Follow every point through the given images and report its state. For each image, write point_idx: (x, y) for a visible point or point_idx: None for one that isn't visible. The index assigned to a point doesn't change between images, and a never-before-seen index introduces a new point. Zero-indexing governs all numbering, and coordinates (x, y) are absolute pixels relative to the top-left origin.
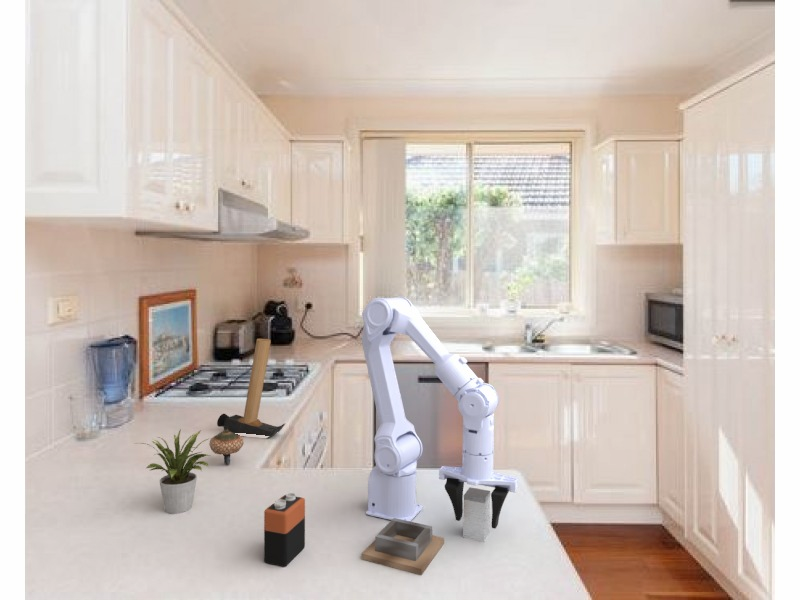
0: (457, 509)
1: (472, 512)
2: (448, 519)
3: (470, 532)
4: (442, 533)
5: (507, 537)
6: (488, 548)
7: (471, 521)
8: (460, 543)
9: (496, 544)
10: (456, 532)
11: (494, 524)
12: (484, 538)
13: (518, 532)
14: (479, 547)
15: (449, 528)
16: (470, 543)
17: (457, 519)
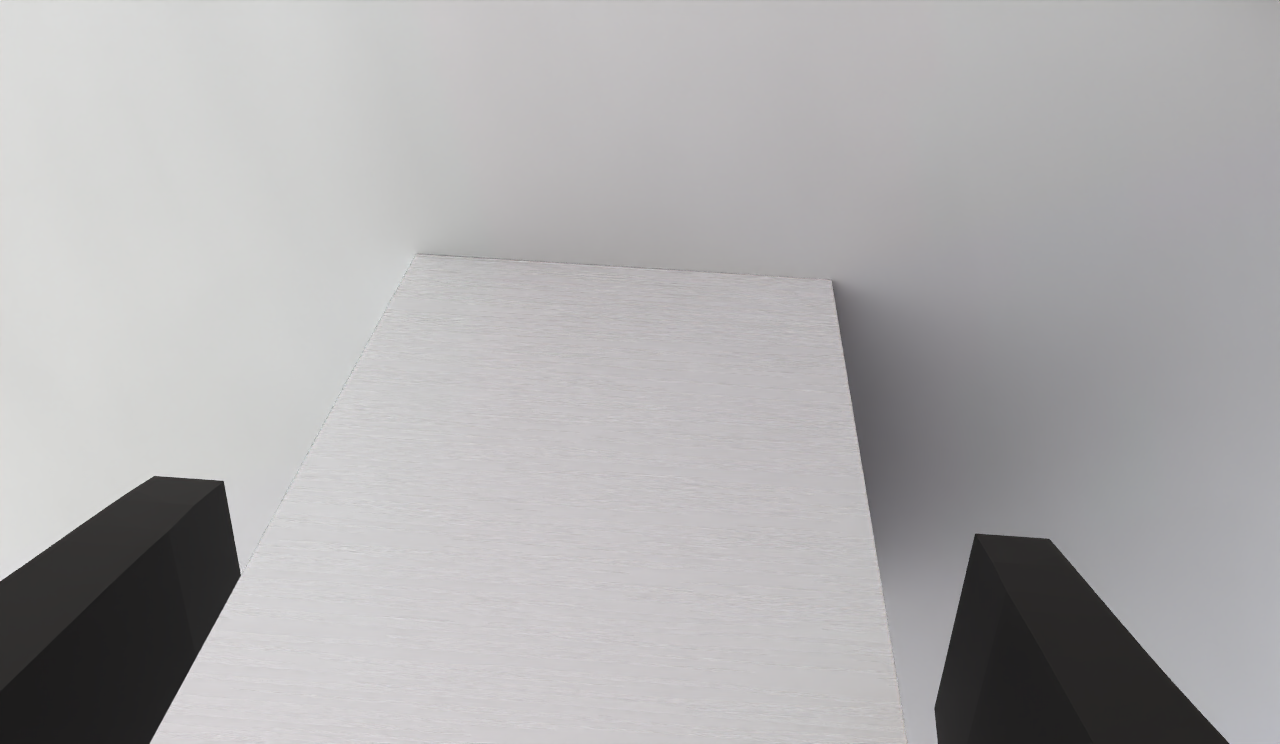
0: (1091, 715)
1: (601, 647)
2: None
3: (680, 337)
4: (1260, 288)
5: None
6: (266, 68)
7: (645, 475)
8: (838, 45)
9: (195, 261)
10: (984, 407)
11: (102, 514)
12: (401, 301)
13: None
14: (435, 38)
15: (1132, 492)
16: (643, 122)
17: (1021, 550)
